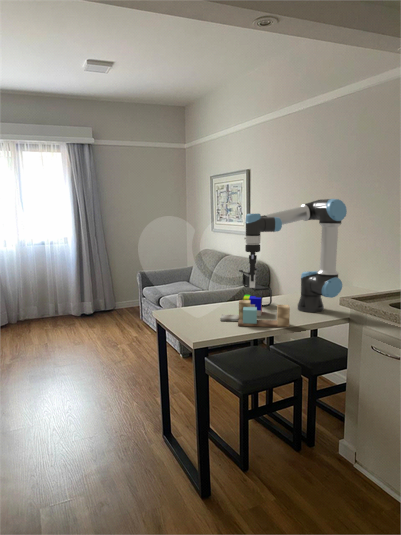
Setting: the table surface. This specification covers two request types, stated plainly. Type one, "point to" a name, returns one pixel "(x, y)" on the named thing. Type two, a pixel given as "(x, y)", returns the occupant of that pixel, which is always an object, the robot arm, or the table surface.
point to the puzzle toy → (255, 302)
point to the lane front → (282, 320)
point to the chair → (257, 287)
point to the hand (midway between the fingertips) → (252, 285)
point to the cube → (250, 315)
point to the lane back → (236, 317)
